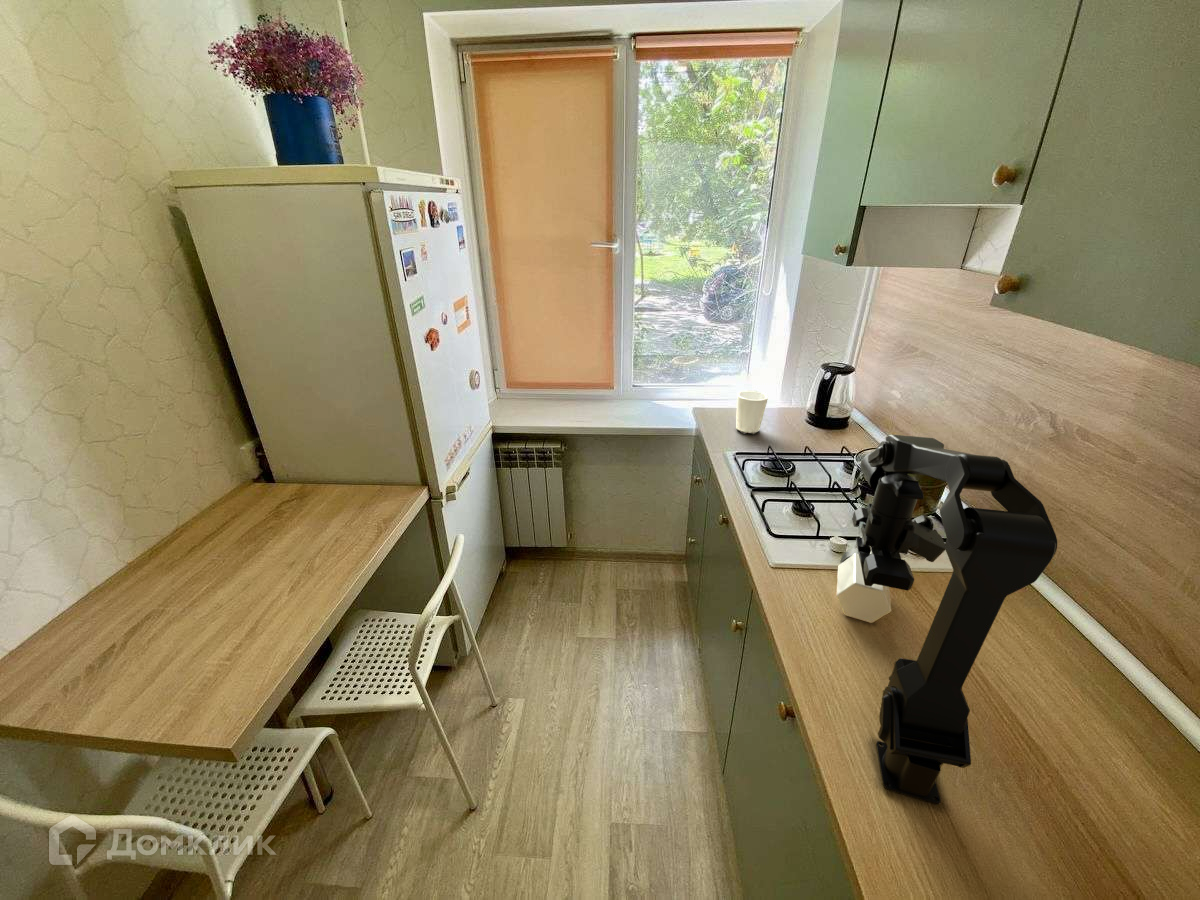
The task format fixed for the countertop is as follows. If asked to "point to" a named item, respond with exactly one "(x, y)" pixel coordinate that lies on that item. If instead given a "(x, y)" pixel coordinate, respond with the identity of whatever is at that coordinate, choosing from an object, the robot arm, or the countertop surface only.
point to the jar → (860, 591)
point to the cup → (750, 411)
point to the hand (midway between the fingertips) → (867, 584)
